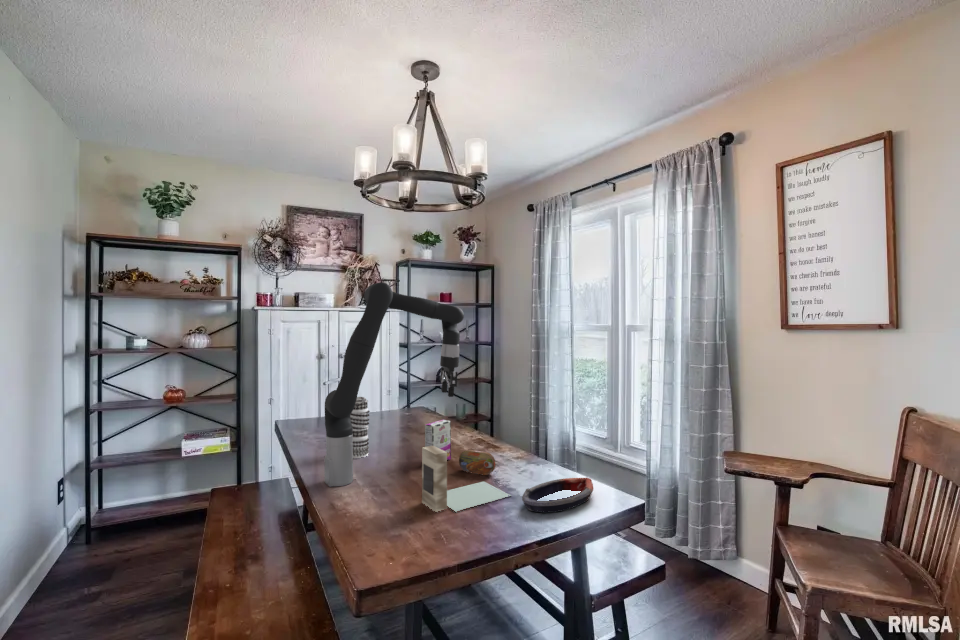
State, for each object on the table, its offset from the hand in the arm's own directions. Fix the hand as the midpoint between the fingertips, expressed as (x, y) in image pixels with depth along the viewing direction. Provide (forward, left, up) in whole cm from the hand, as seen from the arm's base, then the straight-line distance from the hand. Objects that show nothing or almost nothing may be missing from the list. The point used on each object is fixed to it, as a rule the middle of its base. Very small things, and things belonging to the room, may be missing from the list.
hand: (447, 394), depth 188 cm
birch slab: (-25, -34, -28) cm, 51 cm away
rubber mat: (-11, -34, -28) cm, 46 cm away
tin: (+4, -16, -29) cm, 33 cm away
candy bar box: (-2, +4, -29) cm, 29 cm away
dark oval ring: (+11, -54, -29) cm, 62 cm away
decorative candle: (-26, +31, -29) cm, 49 cm away
